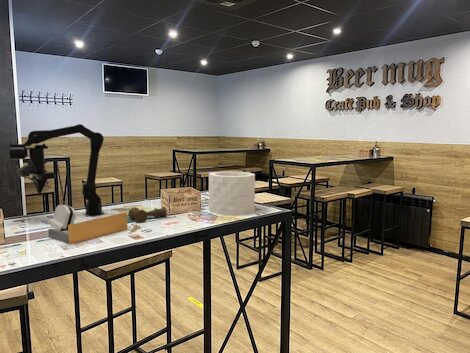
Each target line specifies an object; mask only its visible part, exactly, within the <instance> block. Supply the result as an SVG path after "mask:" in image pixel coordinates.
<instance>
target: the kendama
mask: <svg viewBox="0 0 470 353" xmlns="http://www.w3.org/2000/svg"><path fill="white" fill-rule="evenodd" d="M167 212H168V211H167V208H166V207H165V206H162V207H160V208H157V207H156V208H154V209H152V210H149V211H146V210H144V209H139V208H138V207H131V208H129V211H128V212H127V218H128V217H129V219H131V220H134V221H135V222H136V223H137V224H143V223H145V222H146V221H147V220H148V217H149V216H150V217H154V218H159V217H162V218H166V217H167Z"/></svg>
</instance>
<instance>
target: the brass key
mask: <svg viewBox="0 0 470 353" xmlns="http://www.w3.org/2000/svg"><path fill="white" fill-rule="evenodd" d="M140 229H141V226H140V225H136V226H135V225H134V226H133V228H132V229H131V230H129V231H130V233H135V232H136V231H137V230H140Z"/></svg>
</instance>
